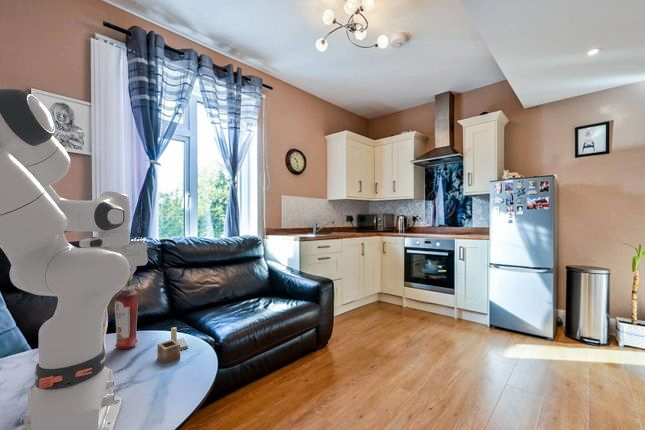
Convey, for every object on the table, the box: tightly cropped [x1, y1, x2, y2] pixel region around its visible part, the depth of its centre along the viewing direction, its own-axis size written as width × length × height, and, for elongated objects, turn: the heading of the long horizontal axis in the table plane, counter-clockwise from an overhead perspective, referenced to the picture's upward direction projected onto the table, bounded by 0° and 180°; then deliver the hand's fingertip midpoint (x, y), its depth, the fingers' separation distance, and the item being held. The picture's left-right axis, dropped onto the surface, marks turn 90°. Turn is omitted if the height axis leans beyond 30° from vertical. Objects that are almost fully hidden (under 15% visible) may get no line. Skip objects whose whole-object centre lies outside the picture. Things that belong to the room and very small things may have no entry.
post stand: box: [170, 326, 189, 351], centre depth 106 cm, size 8×8×7 cm
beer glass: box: [103, 308, 109, 351], centre depth 103 cm, size 7×7×15 cm
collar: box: [156, 339, 181, 365], centre depth 98 cm, size 6×5×5 cm
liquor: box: [113, 280, 139, 350], centre depth 107 cm, size 7×7×28 cm
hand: (113, 281), depth 97 cm, fingers open, 8 cm apart
